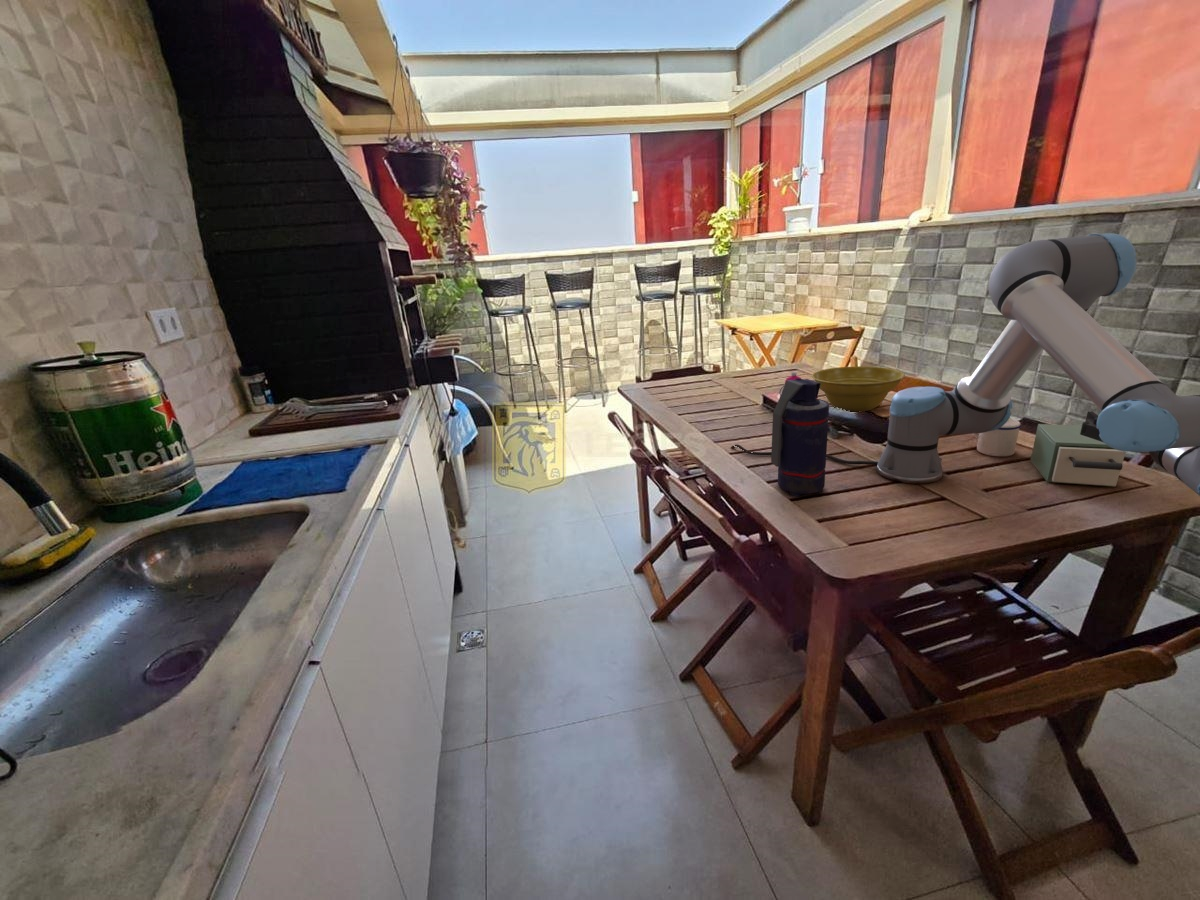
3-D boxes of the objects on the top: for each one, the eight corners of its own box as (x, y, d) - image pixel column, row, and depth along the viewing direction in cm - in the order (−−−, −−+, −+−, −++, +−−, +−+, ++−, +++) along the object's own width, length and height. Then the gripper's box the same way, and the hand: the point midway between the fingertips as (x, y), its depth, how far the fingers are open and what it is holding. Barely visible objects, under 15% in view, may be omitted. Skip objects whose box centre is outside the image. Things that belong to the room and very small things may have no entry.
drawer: (1125, 494, 111) (1135, 459, 108) (1059, 489, 116) (1067, 455, 113) (1093, 464, 126) (1102, 432, 123) (1036, 461, 131) (1043, 430, 128)
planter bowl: (820, 394, 215) (822, 364, 211) (905, 399, 197) (909, 366, 192) (801, 415, 191) (802, 381, 187) (896, 422, 173) (900, 385, 168)
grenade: (808, 476, 140) (812, 373, 129) (833, 493, 129) (841, 381, 118) (763, 484, 138) (764, 380, 128) (785, 502, 127) (788, 389, 117)
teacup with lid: (1023, 453, 139) (1031, 414, 135) (998, 459, 137) (1006, 420, 133) (982, 441, 150) (988, 404, 146) (958, 446, 148) (964, 409, 144)
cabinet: (1115, 486, 117) (1127, 445, 113) (1046, 481, 122) (1056, 442, 119) (1091, 463, 129) (1101, 425, 125) (1030, 460, 134) (1038, 423, 131)
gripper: (1087, 470, 89) (1049, 433, 106) (1297, 483, 77) (1216, 439, 95) (1097, 431, 86) (1057, 399, 104) (1315, 439, 75) (1229, 402, 92)
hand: (1133, 418), depth 99 cm, fingers open, 13 cm apart
